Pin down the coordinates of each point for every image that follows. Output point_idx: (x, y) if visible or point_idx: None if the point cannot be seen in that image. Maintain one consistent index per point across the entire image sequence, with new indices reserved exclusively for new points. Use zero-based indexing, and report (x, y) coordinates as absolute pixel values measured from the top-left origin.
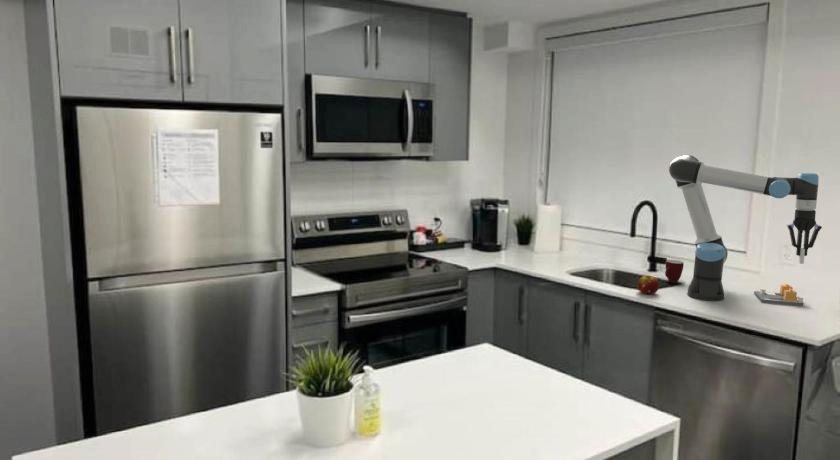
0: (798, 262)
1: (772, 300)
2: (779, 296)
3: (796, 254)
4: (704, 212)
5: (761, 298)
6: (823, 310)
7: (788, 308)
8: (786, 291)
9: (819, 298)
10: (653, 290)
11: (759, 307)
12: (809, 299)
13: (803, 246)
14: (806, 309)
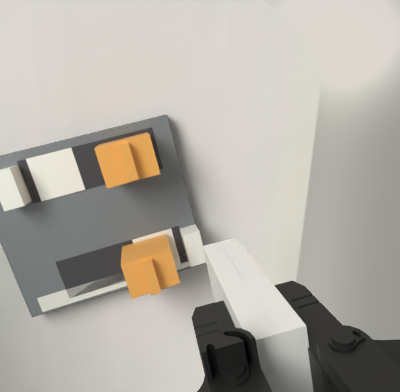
0: (205, 258)
1: (78, 301)
2: (102, 206)
3: (194, 311)
4: None
5: (27, 300)
6: (270, 267)
7: (148, 324)
8: (132, 296)
9: (275, 56)
10: None
11: (39, 385)
12: (232, 106)
13: (319, 353)
14: (212, 294)
